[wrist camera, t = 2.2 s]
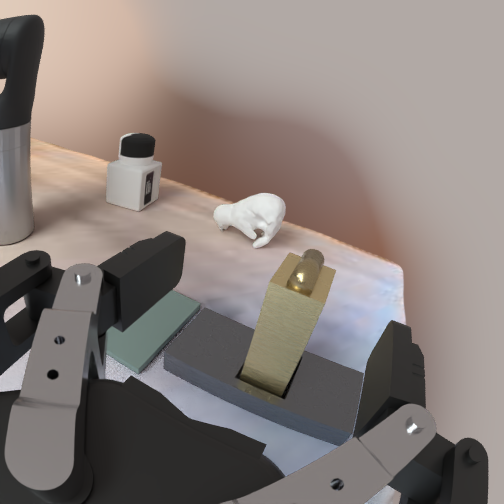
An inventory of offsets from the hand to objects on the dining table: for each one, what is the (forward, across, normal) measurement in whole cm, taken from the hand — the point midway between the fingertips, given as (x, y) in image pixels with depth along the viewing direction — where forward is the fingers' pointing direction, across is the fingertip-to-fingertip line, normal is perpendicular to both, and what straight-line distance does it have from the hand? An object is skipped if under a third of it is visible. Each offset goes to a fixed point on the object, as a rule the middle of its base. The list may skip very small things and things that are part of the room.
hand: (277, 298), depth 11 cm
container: (+36, +37, +18) cm, 54 cm away
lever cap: (+11, 0, +18) cm, 21 cm away
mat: (+11, +17, +18) cm, 27 cm away
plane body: (+11, 0, +18) cm, 21 cm away
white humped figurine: (+38, +14, +18) cm, 45 cm away
